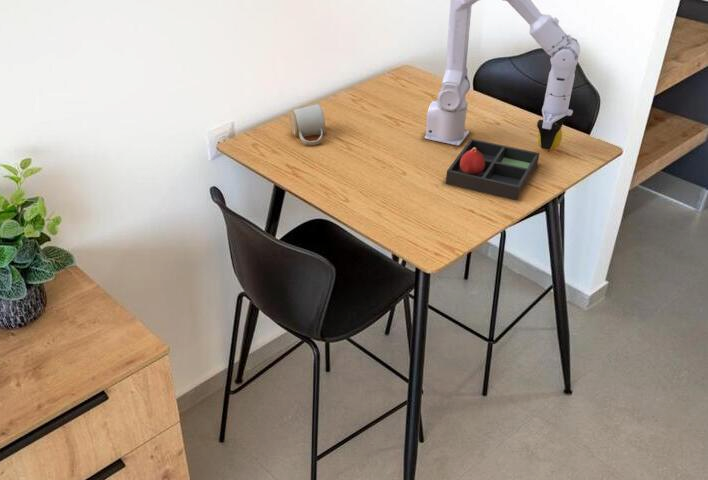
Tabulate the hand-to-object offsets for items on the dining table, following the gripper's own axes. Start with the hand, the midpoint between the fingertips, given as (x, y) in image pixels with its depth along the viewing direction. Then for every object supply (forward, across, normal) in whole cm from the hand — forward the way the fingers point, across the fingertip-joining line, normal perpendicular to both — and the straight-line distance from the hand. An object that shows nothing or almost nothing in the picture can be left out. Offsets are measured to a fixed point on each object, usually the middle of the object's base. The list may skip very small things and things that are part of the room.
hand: (548, 142), depth 189 cm
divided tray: (+2, -16, +9) cm, 19 cm away
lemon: (+3, 0, 0) cm, 3 cm away
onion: (+2, -20, +13) cm, 24 cm away
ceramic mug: (+3, -18, +58) cm, 60 cm away
